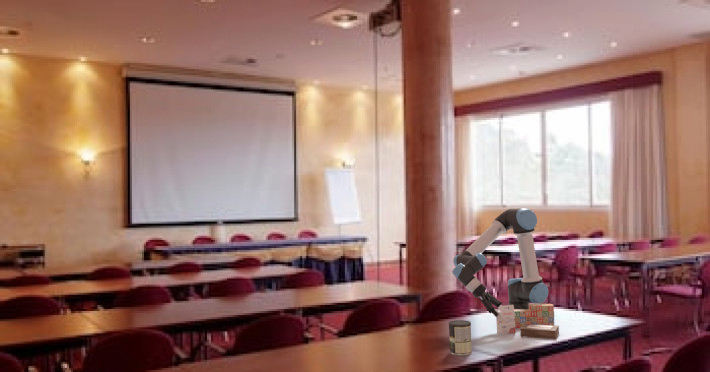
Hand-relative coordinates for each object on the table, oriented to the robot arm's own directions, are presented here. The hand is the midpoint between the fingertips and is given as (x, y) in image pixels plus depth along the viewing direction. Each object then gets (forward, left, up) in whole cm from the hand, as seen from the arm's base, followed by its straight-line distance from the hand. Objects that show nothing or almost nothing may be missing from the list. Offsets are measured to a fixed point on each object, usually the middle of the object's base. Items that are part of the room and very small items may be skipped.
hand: (505, 317), depth 333 cm
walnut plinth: (+1, +17, -8) cm, 19 cm away
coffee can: (+48, -11, -8) cm, 50 cm away
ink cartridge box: (-1, 0, -8) cm, 8 cm away
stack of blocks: (-19, +11, -8) cm, 23 cm away
